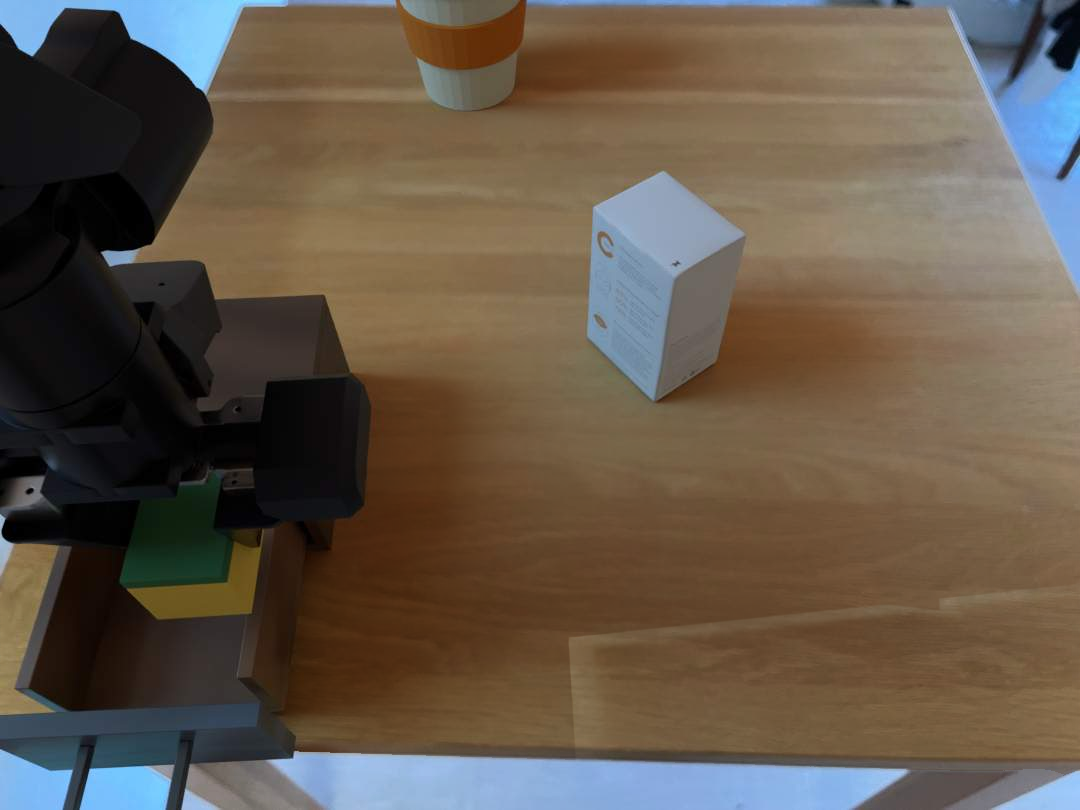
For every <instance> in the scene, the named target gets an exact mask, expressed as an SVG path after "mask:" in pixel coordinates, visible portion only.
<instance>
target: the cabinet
mask: <svg viewBox="0 0 1080 810" xmlns="http://www.w3.org/2000/svg"><path fill="white" fill-rule="evenodd" d="M215 301H216V305H217V308H218V312H219V315H220V319H221V322H222V329H221V330H220V332H219V333H216V334H215V336H214V338H213V340H212V341H211V343H210V345H209V347H208V349H207V351H206V353H205V354H204V358H205V359H206V361H207V363H208V365H209V366H210V368H211V370H212V372H213V374H214V377H213V382H212V387H211V392H210V396H209V397H201V398H198V400H197V404H196V406H197V408H198V410H199V411H214V410H220V409H221V408H222V407H223V406H224V405H225V404H226V402H228V401H229V400H230V399H233V398H235V397H239V396H254V395H265V390H266V383H267V381H269V380H271V379H273V378H275V377H288V376H305V375H323V374H340V373H351V370H350V367H349V364H348V360H347V358H346V354H345V351H344V348H343V346H342V342H341V340H340V336H339V334H338V331H337V329H336V325H335V322H334V319H333V316H332V313H331V310H330V307H329V304H328V301H327V298H326V295H325V294H305V295H284V296H283V295H282V296H280V295H279V296H261V297H259V296H258V297H237V298H236V297H235V298H215ZM300 523H301V525H302V527H303V528H304V531H305V532H306V534H307V543H306V551H305V552H314V551H315V552H317V551H318V552H319V551H331V550H332V545H333V536H334V526H335V519H328V520H312V521H300Z"/></svg>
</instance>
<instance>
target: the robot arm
mask: <svg viewBox="0 0 1080 810" xmlns="http://www.w3.org/2000/svg"><path fill="white" fill-rule="evenodd" d="M214 123H215V122H214V116H213V111H212V107H211V104H210V102H209V99H208V98H207V95H206V93H205V92H204V91H203V90H202V89H201V88H200V87H198V86H197V85H195V83H194V82H193V80H192V79H191V78H190V77H189V76H188V75H187V74H186V73H185V72H184V71H183V70H182V69H181V68H180V67H179V66H178V65H177V64H176V63H175V62H173V61H172V60H170V59H169V58H168V57H166V56H165V55H163V54H162V53H161V52H159V50H158V51H157V50H156V49H154V48H152V47H150V46H148V45H146V44H144V43H142V42H140V41H138V40H136V39H133V38H131V35H130V33H129V30H128V29H127V26H126V24H125V22H124V20H123V17H122V15H121V13H120V12H118V11H117V10H114V9H113V10H112V9H93V8H79V7H78V8H77V7H64V9H62V10H61V12H60V13H59V15H57V17H56V18H55V19H54V20H53V22H52V24H51V25H50V26H49V28H48V31H47V32H46V36H45V37H44V40H43V42H42V43H41V45H40V47H38V49H36V51H35V53H34V54H33V55H31V54H29V53H28V52H25V51H24V50H22V49H20V48H19V46H18V45H17V43H16V41H15V40H14V37H13V36H12V35H11V33H10V32H9V31H8V30H7V29H6V28H5V27H4V26H3V25H2V24H1V23H0V516H1V517H2V518H3V519H4V520H3V523H2V526H1V530H0V534H1V537H2V538H3V540H4V541H6V542H7V543H10V544H13V545H24V544H25V545H26V544H27V545H29V544H30V545H42V546H43V545H45V546H56V547H57V546H58V547H59V546H70V547H83V548H95V549H107V550H118V551H127V550H128V546H129V542H130V538H131V534H132V530H133V526H134V522H135V518H136V514H137V510H138V506H139V502H140V500H142V499H159V498H176V497H177V492H178V488H179V486H192V485H204V484H207V483H208V482H209V481H210V479H211V473H212V466H213V473H214V474H215V476H216V477H217V479H221V485H220V490H219V495H218V501H217V506H216V512H215V517H214V523H213V530H214V531H215V532H217V533H219V534H221V535H223V536H226V537H228V538H230V539H232V540H234V541H236V542H238V543H240V544H242V545H244V546H248V547H251V548H259V547H260V544H261V537H262V530H263V529H271V528H276V527H278V526H280V525H281V524H282V523H283V522H284V521H287V522H295V521H312V520H328V519H334V520H341V519H342V520H343V519H351V518H352V517H353V516H355V515H356V514H357V513H358V512H359V511H360V510H361V509H362V508H364V507H365V504H366V490H367V477H368V476H367V475H368V461H369V448H370V447H369V445H370V432H371V420H372V419H371V417H372V404H371V401H370V397H369V394H368V391H367V388H366V385H365V384H364V383H363V382H362V381H361V380H360V379H359V378H358V377H357V376H356V375H355V374H353V372H350V373H340V374H323V375H305V376H288V377H275V378H273V379H271V380H269V381H267V383H266V390H265V395H254V396H239V397H235V398H233V399H230V400H229V401H228V402H226V404H225V405H224V406H223V407H222V408H221V409H220V410H214V411H199V410H198V408H197V406H196V404H197V400H198V398H201V397H209V396H210V392H211V387H212V382H213V377H214V374H213V372H212V370H211V368H210V366H209V365H208V363H207V361H206V359H205V358H204V354H205V353H206V351H207V349H208V347H209V345H210V343H211V341H212V340H213V338H214V336H215V334H216V333H219V332H220V330H221V329H222V322H221V319H220V315H219V312H218V308H217V305H216V301H215V299H216V298H215V295H214V292H213V291H214V290H213V288H212V285H211V282H210V278H209V274H208V271H207V267H206V264H205V263H204V262H202V261H200V260H195V259H185V260H184V259H183V260H167V261H165V260H163V261H149V262H145V261H144V262H131V263H130V262H129V263H127V262H126V263H119V264H114V265H111V266H110V264H109V263H108V261H107V259H106V257H105V256H104V255H103V252H107V251H108V252H129V251H137V250H139V249H141V248H144V247H147V246H151V245H152V244H153V243H154V242H155V241H156V238H157V236H158V234H159V233H160V231H161V229H162V228H163V226H164V224H165V223H166V220H167V218H168V216H169V215H170V213H171V211H172V209H173V207H174V205H175V204H176V202H177V200H178V199H179V197H180V195H181V193H182V191H183V189H184V188H185V186H186V184H187V182H188V181H189V179H190V177H191V175H192V173H193V171H194V170H195V168H196V166H197V165H198V163H199V160H200V159H201V158H202V155H203V153H204V152H205V150H206V149H207V146H208V144H209V143H210V140H211V138H212V136H213V132H214Z"/></svg>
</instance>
